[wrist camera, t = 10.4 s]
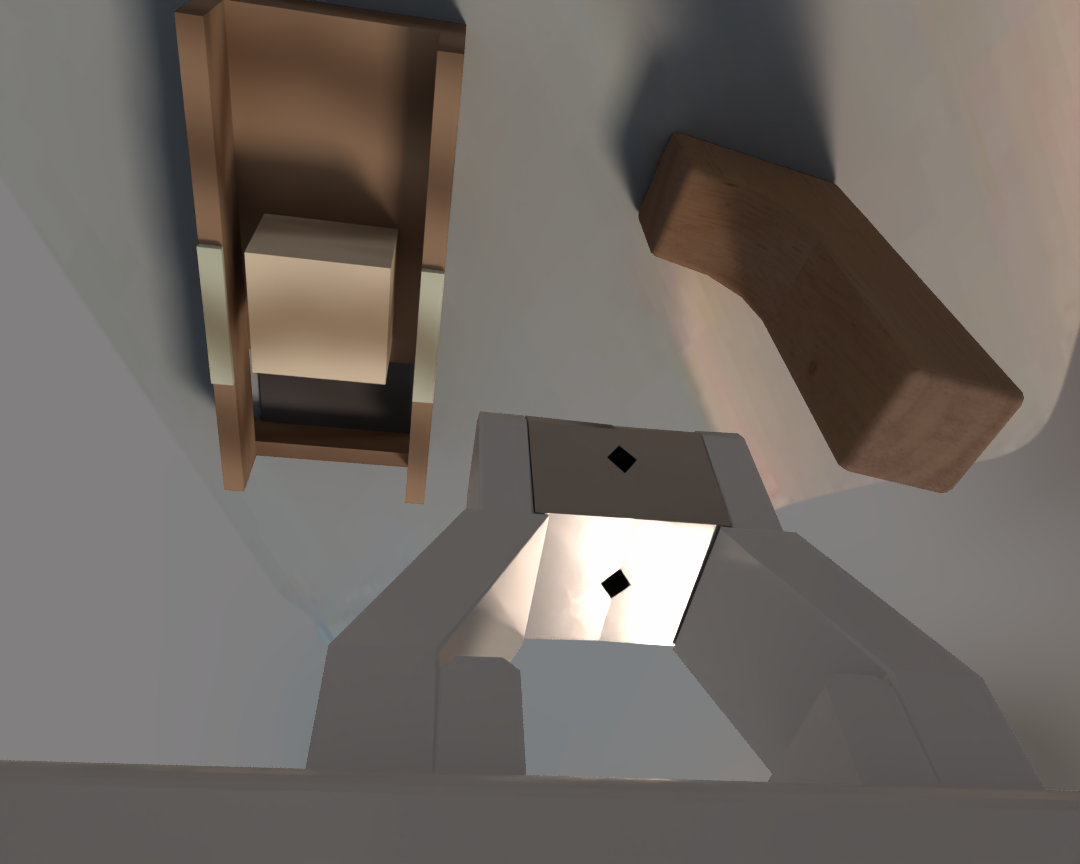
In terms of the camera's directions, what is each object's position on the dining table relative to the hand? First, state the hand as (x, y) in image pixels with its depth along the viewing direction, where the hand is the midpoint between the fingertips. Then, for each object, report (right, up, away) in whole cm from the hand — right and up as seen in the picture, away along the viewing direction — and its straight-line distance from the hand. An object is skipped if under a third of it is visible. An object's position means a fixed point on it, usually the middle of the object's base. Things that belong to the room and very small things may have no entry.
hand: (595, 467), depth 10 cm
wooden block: (+9, +12, +31) cm, 34 cm away
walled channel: (-11, +9, +32) cm, 35 cm away
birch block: (-11, +8, +30) cm, 33 cm away
